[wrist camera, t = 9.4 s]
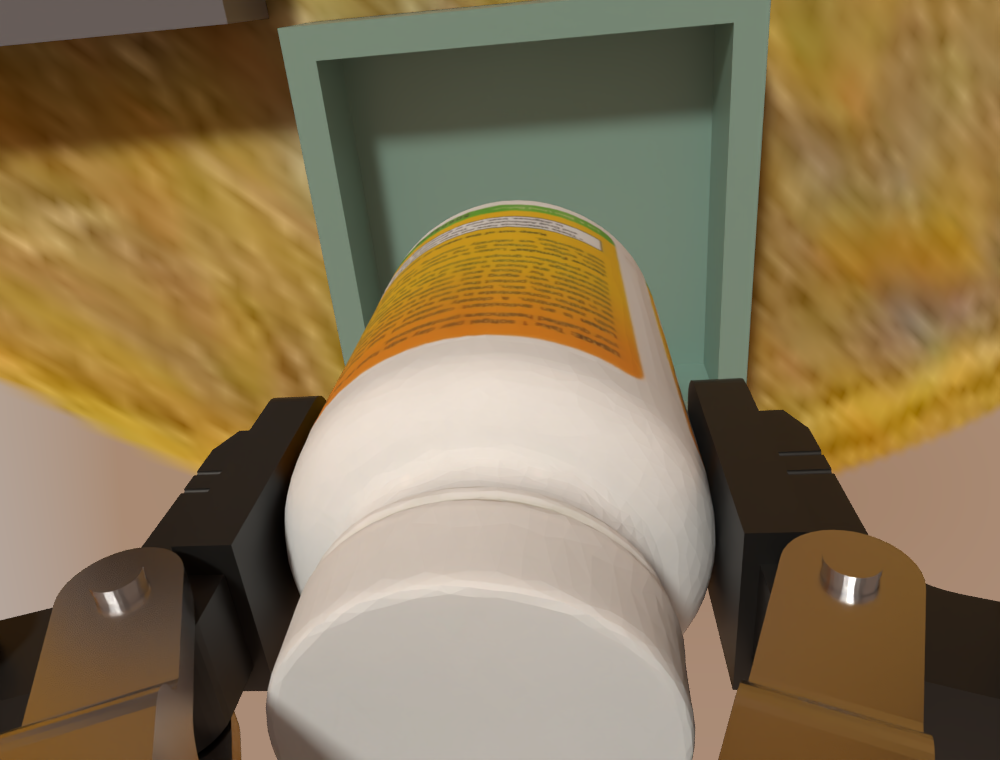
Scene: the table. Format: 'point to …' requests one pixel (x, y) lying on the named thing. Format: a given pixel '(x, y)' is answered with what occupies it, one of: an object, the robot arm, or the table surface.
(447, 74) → the tray
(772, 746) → the robot arm
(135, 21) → the socket block
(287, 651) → the supplement bottle
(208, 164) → the table surface
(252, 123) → the table surface
